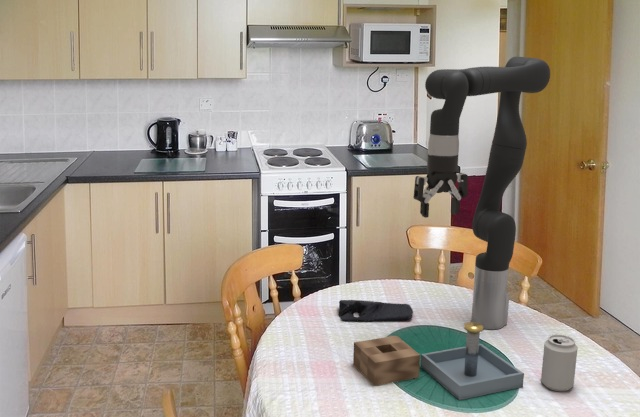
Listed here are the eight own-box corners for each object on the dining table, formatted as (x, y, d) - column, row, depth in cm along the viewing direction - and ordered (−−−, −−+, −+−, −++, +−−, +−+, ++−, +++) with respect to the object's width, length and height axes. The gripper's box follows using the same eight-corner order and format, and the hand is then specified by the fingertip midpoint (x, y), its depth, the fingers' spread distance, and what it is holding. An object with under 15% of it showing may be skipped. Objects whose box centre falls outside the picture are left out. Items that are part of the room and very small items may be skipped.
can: (535, 378, 177) (540, 332, 174) (565, 377, 178) (570, 331, 175) (547, 393, 170) (552, 346, 167) (578, 392, 170) (584, 345, 167)
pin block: (395, 357, 187) (396, 335, 186) (418, 377, 176) (420, 354, 175) (353, 364, 183) (353, 342, 181) (374, 386, 172) (375, 362, 170)
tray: (480, 356, 188) (481, 343, 187) (522, 386, 173) (524, 373, 172) (420, 367, 182) (421, 354, 181) (459, 400, 166) (460, 386, 165)
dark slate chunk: (413, 327, 207) (414, 311, 206) (336, 323, 209) (336, 307, 208) (412, 306, 222) (412, 292, 221) (340, 303, 224) (340, 288, 223)
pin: (472, 368, 180) (476, 320, 177) (483, 376, 176) (486, 327, 173) (457, 371, 178) (460, 323, 175) (467, 379, 174) (471, 330, 171)
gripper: (459, 148, 186) (455, 209, 190) (410, 151, 181) (407, 214, 185) (476, 153, 180) (471, 216, 184) (425, 156, 174) (422, 221, 178)
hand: (439, 215), depth 184 cm, fingers open, 8 cm apart
